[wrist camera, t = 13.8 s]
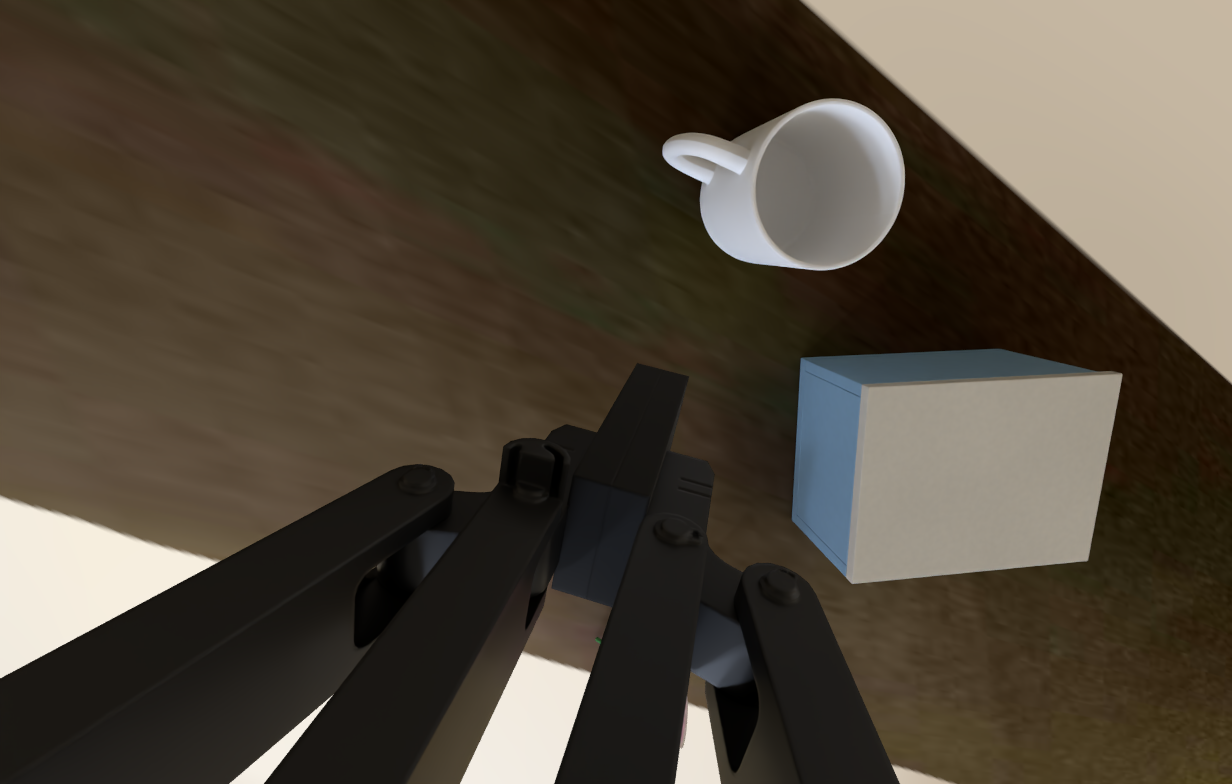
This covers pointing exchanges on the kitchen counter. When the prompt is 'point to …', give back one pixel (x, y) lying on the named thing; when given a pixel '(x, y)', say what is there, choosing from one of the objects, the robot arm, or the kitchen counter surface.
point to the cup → (798, 185)
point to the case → (835, 421)
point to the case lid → (978, 473)
